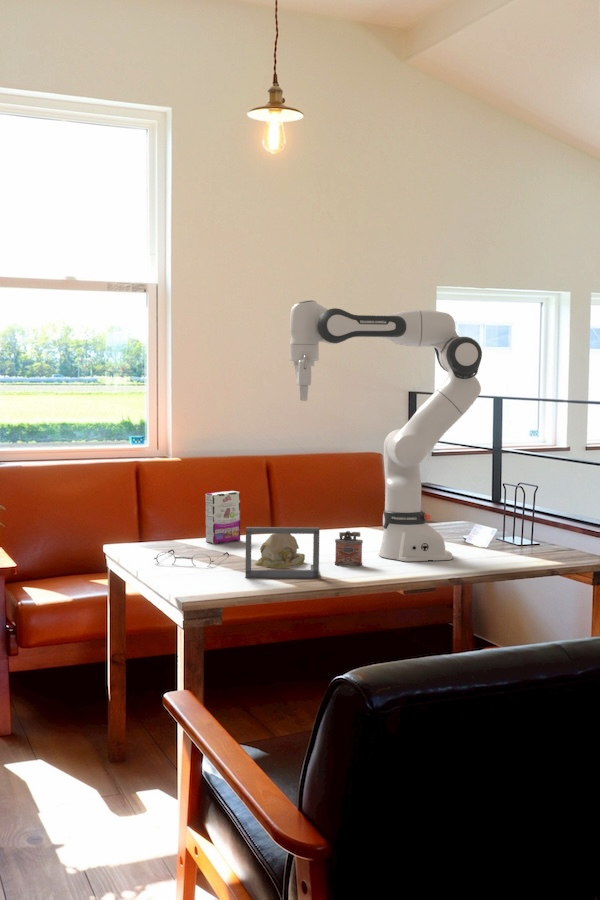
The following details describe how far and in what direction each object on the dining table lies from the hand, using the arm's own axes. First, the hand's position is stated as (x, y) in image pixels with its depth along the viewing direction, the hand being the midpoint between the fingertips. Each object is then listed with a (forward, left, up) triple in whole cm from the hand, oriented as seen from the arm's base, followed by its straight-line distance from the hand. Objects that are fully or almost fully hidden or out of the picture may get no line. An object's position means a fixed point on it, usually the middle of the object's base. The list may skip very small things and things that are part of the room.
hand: (303, 400), depth 281 cm
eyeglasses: (+33, +6, -48) cm, 59 cm away
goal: (+7, +26, -48) cm, 55 cm away
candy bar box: (+25, -24, -48) cm, 59 cm away
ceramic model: (+7, +12, -48) cm, 50 cm away
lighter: (-13, +14, -48) cm, 52 cm away
